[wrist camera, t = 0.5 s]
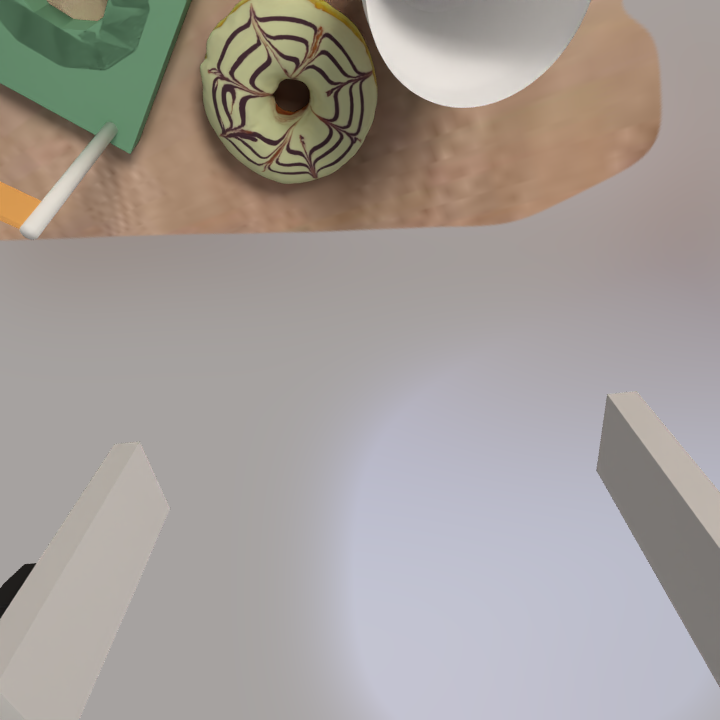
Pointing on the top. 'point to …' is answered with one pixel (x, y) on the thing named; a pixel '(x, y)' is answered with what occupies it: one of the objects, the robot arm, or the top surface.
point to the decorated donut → (289, 61)
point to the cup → (471, 44)
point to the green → (84, 81)
